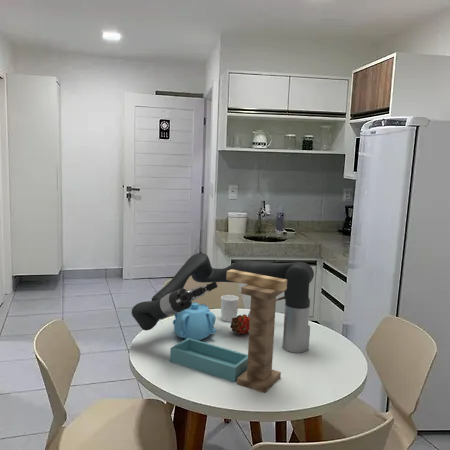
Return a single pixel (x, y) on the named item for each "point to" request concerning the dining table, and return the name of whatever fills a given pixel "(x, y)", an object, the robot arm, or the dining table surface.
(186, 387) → the dining table surface
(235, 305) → the white cup
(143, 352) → the dining table surface
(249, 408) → the dining table surface
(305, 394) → the dining table surface
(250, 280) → the bar
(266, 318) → the stand
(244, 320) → the dragon fruit
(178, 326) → the decorative pot
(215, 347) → the tray
